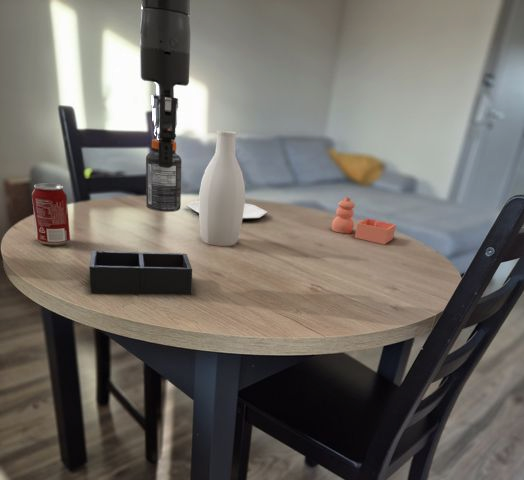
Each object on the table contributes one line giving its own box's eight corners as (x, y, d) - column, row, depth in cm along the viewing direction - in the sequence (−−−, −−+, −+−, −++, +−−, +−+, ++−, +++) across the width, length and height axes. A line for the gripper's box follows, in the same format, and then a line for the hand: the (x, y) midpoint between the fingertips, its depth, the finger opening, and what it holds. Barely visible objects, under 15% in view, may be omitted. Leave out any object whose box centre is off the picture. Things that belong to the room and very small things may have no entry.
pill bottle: (159, 203, 89) (160, 137, 83) (186, 209, 87) (189, 142, 81) (139, 207, 84) (138, 137, 79) (167, 214, 82) (168, 142, 77)
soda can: (70, 247, 104) (66, 190, 99) (36, 246, 102) (29, 188, 96) (70, 238, 110) (65, 183, 104) (37, 237, 108) (31, 182, 102)
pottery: (392, 238, 145) (400, 205, 140) (384, 244, 137) (392, 209, 133) (337, 225, 151) (342, 193, 147) (326, 231, 144) (332, 197, 139)
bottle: (195, 245, 116) (201, 130, 104) (198, 233, 125) (203, 127, 114) (241, 249, 117) (252, 136, 105) (240, 237, 127) (250, 132, 115)
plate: (272, 212, 158) (273, 208, 158) (251, 227, 138) (252, 221, 137) (206, 201, 163) (206, 196, 162) (176, 213, 142) (176, 208, 142)
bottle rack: (90, 293, 84) (89, 266, 81) (93, 275, 91) (92, 250, 89) (191, 294, 88) (192, 269, 86) (185, 276, 96) (186, 253, 94)
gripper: (138, 47, 79) (139, 156, 87) (142, 41, 67) (142, 169, 75) (184, 53, 81) (181, 159, 89) (195, 49, 69) (191, 172, 77)
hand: (163, 163), depth 82 cm, fingers closed on pill bottle, 6 cm apart
